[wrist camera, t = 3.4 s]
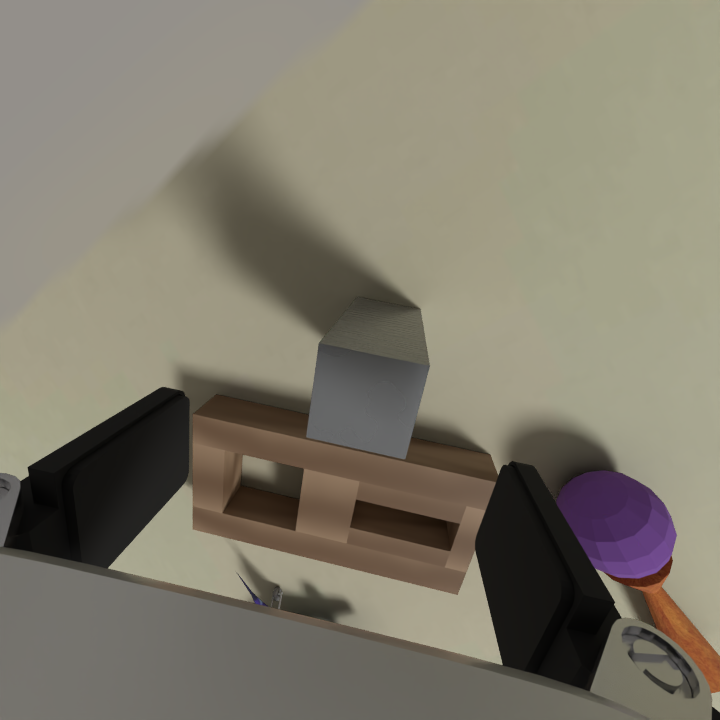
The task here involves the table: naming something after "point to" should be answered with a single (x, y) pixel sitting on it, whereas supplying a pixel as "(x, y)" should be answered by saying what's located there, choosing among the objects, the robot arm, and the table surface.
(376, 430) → the square peg
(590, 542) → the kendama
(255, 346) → the table surface
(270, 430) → the socket block
